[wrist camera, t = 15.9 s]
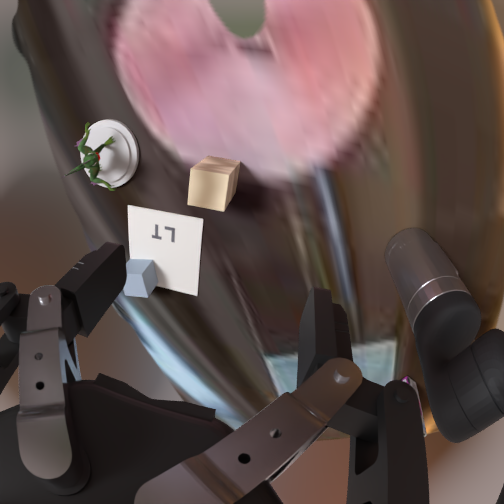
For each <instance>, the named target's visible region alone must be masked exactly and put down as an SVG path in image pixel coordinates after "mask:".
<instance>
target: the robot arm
mask: <svg viewBox="0 0 504 504" xmlns="http://www.w3.org/2000/svg"><path fill="white" fill-rule="evenodd" d="M385 260H386V264H387V266H388V268H389V271H390V273H391V276H392V278H393V281H394V283H395V286H396V288H397V291H398V293H399V296H400V298H401V301H402V303H403V306H404V309H405V311H406V314H407V317H408V319H409V322H410V325H411V328H412V330H413V333H414V336H415V339H416V348H417V352H418V356H419V359H420V363H421V367H422V371H423V376H424V381H425V386H426V391H427V396H428V400H429V405H430V408H431V411H432V415H433V418H434V420H435V423H436V425H437V427H438V429H439V431H440V432H441V434H442V435H443V436H444V437H445V438H446V439H447V440H449V441H450V442H454V443H459V442H462V441H464V440H467V439H468V438H470V437H472V436H474V435H476V434H477V433H479V432H481V431H482V430H484V429H485V428H487V427H488V426H490V425H492V424H493V423H495V422H496V421H498V420H499V419H501V418H502V417H504V332H503V331H501V330H499V329H491V330H490V331H488V332H486V333H485V334H483V335H482V336H481V337H479V338H478V339H477V340H476V341H474V342H473V340H474V338H475V337H476V335H477V333H478V331H479V328H480V325H481V313H480V309H479V307H478V305H477V304H476V302H475V300H474V299H473V297H472V296H471V294H470V293H469V291H468V290H467V288H466V286H465V285H464V284H463V282H462V281H461V279H460V278H459V276H458V271H457V269H456V268H455V267H454V265H453V264H452V262H451V261H450V260H449V258H448V257H447V255H446V254H445V253H444V251H443V250H442V249H441V247H440V246H439V245H438V243H437V242H434V241H433V239H432V238H431V237H430V236H429V234H428V233H427V232H425V231H423V230H421V229H418V228H410V229H405V230H403V231H401V232H399V233H398V234H396V235H395V236H394V237H393V238H392V239H391V241H390V242H389V244H388V246H387V248H386V252H385ZM126 280H127V270H126V258H125V248H124V246H123V245H120V244H116V243H111V242H106V243H105V244H104V245H103V246H101V247H100V248H99V249H98V250H95V251H93V252H91V253H89V254H87V255H85V256H84V257H83V258H82V259H81V260H80V261H79V263H77V264H76V265H75V266H74V267H73V268H72V269H71V270H69V271H68V272H67V274H65V276H63V277H62V278H61V279H60V280H59V281H58V282H57V284H55V286H52V285H45V286H42V287H39V288H37V289H36V290H34V291H33V292H32V293H31V295H30V294H18V292H17V289H16V286H15V285H14V284H13V283H11V282H3V283H0V326H1V325H2V327H3V330H4V332H5V333H4V335H3V336H2V337H1V338H0V394H1V393H2V391H3V389H4V388H5V386H6V384H7V383H8V381H9V379H10V378H11V376H12V375H13V373H14V371H15V370H16V369H17V367H18V365H19V403H20V404H19V405H16V406H14V407H11V408H9V409H6V410H4V411H2V412H0V504H283V502H282V501H281V499H280V498H279V497H278V495H277V493H276V492H275V490H274V489H273V487H272V486H271V484H270V483H272V482H273V481H274V480H275V479H276V478H277V477H278V476H280V475H281V474H282V473H283V472H284V471H285V470H286V469H287V468H288V467H289V466H290V465H291V464H292V463H293V462H294V461H295V460H296V459H297V458H298V457H299V456H300V455H301V454H302V453H303V452H304V451H305V450H306V449H307V448H308V447H309V446H310V445H311V444H312V443H313V442H314V441H315V440H316V439H317V438H318V437H319V436H320V435H321V434H322V433H323V432H324V431H325V430H326V429H327V428H328V427H331V428H333V429H336V430H338V431H341V432H343V433H346V434H349V435H350V458H349V460H350V461H349V477H348V491H347V503H346V504H429V484H428V469H427V458H426V448H425V441H424V432H423V425H422V418H421V411H420V405H419V399H418V395H417V393H416V391H415V389H414V388H413V387H412V386H411V385H409V384H408V383H406V382H404V381H400V380H393V381H390V382H389V383H387V384H386V386H385V387H384V386H382V385H379V384H377V383H374V382H371V381H369V380H367V379H365V378H364V377H363V376H362V372H361V370H360V368H359V367H358V366H357V365H356V364H355V363H354V362H353V357H352V349H351V341H350V334H349V327H348V320H347V314H346V312H345V311H344V309H343V308H342V306H341V305H340V304H334V303H332V297H331V291H330V290H327V289H322V288H317V287H312V288H311V290H310V293H309V296H308V299H307V302H306V305H305V308H304V311H303V314H302V317H301V321H300V327H299V350H298V372H297V389H296V390H295V391H293V392H292V393H289V392H286V393H284V394H282V395H281V396H280V397H278V398H277V399H276V400H275V401H273V402H272V403H271V404H270V405H268V406H267V407H266V408H264V409H263V410H262V411H261V412H259V413H258V414H257V415H255V416H254V417H253V418H251V419H250V420H249V421H247V422H246V423H245V424H243V425H242V426H241V427H239V428H238V429H236V430H235V431H234V430H233V429H232V428H231V427H229V426H228V425H227V424H225V423H224V422H222V421H220V420H218V419H216V418H215V410H216V409H212V408H208V407H203V406H199V405H196V404H192V403H188V402H184V401H167V400H156V399H151V398H148V397H147V396H145V395H143V394H142V393H140V392H139V391H137V390H136V389H134V388H132V387H130V386H129V385H128V384H126V383H124V382H122V381H119V380H116V379H114V378H111V377H109V376H106V375H104V374H101V373H99V375H98V376H97V378H96V380H82V379H81V375H80V369H79V363H78V355H77V347H76V341H75V337H76V335H77V334H80V335H82V336H85V337H88V336H89V334H90V333H91V331H92V330H93V329H94V327H95V326H96V324H97V323H98V322H99V320H100V319H101V317H102V316H103V315H104V313H105V312H106V311H107V309H108V308H109V307H110V305H111V304H112V303H113V301H114V300H115V299H116V297H117V296H118V295H119V293H120V292H121V291H122V289H123V288H124V286H125V284H126ZM472 342H473V343H472ZM471 343H472V345H471ZM496 504H504V485H503V488H502V490H501V493H500V495H499V498H498V500H497V502H496Z"/></svg>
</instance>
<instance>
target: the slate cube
mask: <svg viewBox="0 0 504 504" xmlns="http://www.w3.org/2000/svg"><path fill="white" fill-rule="evenodd" d="M126 270H127V280H126V284H125V286H124V288H123V289H124V292H125V295H127V296H138V297H149V296H150V294H151V292H152V291H153V289H154V288H155V286H156V285H157V283H158V278H157V275H156V271H155V266H154V262H153V260H148V259H130V260H129V261H128V262H127V263H126Z"/></svg>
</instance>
